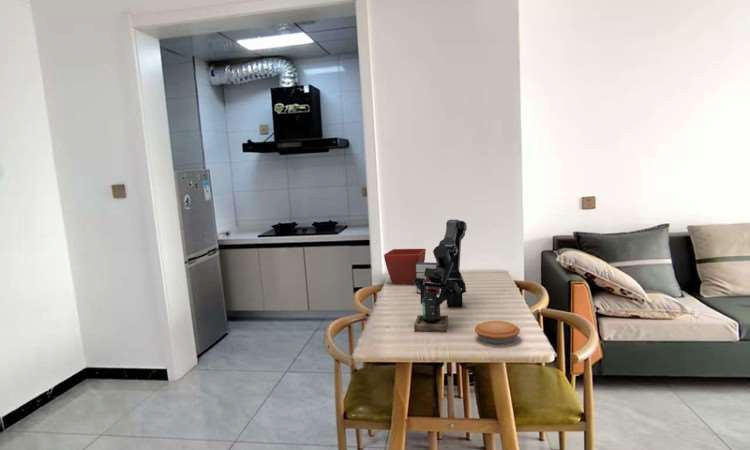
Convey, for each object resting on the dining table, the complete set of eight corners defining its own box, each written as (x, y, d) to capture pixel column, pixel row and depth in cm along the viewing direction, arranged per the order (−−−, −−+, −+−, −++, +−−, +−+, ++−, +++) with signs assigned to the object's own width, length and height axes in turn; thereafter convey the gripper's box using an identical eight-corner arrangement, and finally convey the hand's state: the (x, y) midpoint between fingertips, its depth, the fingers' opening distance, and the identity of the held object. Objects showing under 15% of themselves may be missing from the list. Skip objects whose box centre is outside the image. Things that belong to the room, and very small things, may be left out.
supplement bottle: (422, 323, 178) (421, 293, 177) (423, 318, 185) (421, 288, 184) (440, 323, 177) (439, 292, 176) (440, 317, 184) (439, 287, 182)
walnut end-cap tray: (448, 321, 186) (448, 315, 185) (446, 331, 174) (446, 325, 174) (418, 321, 188) (417, 315, 188) (414, 331, 177) (414, 325, 176)
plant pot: (394, 277, 268) (393, 248, 266) (427, 278, 262) (426, 248, 260) (385, 285, 250) (383, 254, 248) (420, 286, 244) (418, 254, 242)
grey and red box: (416, 293, 230) (414, 263, 228) (418, 291, 234) (417, 262, 232) (438, 294, 226) (436, 264, 224) (440, 292, 230) (438, 262, 228)
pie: (493, 350, 154) (492, 335, 154) (466, 336, 169) (465, 323, 168) (530, 341, 160) (529, 327, 160) (500, 328, 175) (500, 315, 174)
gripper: (414, 257, 187) (399, 291, 180) (455, 261, 175) (441, 297, 168) (426, 272, 194) (412, 305, 187) (466, 277, 182) (453, 312, 175)
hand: (428, 304), depth 179 cm, fingers closed on supplement bottle, 7 cm apart
